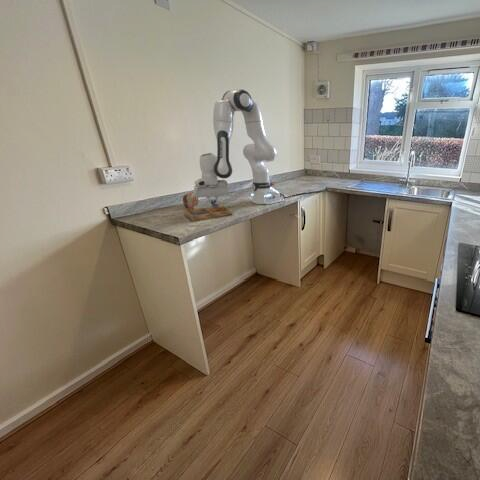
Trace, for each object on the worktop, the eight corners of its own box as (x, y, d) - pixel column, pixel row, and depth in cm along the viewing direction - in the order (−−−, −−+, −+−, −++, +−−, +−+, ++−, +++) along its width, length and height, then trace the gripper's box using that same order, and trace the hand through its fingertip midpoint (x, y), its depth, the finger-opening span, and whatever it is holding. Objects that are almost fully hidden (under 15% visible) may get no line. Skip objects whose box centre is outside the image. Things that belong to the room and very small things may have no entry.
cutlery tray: (223, 209, 163) (223, 205, 162) (232, 215, 153) (231, 210, 152) (185, 215, 150) (185, 210, 149) (192, 221, 140) (191, 216, 139)
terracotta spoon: (186, 209, 161) (185, 205, 160) (192, 208, 163) (192, 204, 162) (191, 213, 153) (190, 208, 152) (197, 212, 156) (196, 207, 154)
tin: (188, 209, 162) (186, 195, 159) (183, 208, 162) (181, 195, 159) (199, 203, 176) (197, 191, 173) (194, 203, 176) (192, 190, 173)
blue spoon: (208, 204, 169) (208, 199, 168) (214, 203, 171) (213, 199, 170) (213, 207, 162) (212, 203, 160) (219, 206, 164) (218, 202, 162)
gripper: (225, 178, 168) (227, 199, 174) (191, 181, 157) (195, 203, 162) (228, 180, 164) (231, 201, 169) (194, 183, 152) (198, 206, 158)
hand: (213, 202), depth 166 cm, fingers closed on blue spoon
